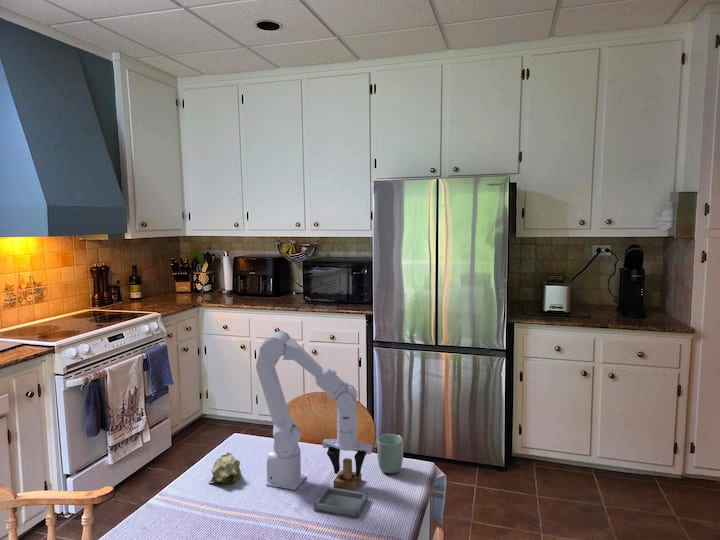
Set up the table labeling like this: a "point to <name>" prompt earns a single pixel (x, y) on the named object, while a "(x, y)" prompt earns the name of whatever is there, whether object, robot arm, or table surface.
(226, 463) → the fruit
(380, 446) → the cup
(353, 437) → the robot arm
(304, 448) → the table surface
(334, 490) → the tray
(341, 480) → the socket
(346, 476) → the pin
